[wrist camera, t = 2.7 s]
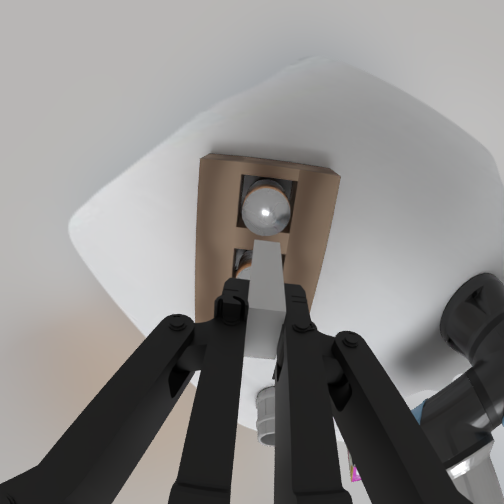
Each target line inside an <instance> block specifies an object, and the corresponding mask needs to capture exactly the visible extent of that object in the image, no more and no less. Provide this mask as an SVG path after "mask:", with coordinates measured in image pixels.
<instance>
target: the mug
mask: <svg viewBox="0 0 504 504" xmlns="http://www.w3.org/2000/svg"><path fill="white" fill-rule="evenodd" d="M256 408H257V409H258V419H257V422H256V427H257V430H258V441H259V442H260V443H261V444H263V445H265V446H270V447H275V387H270V388H267V389H264V390H262V391H261V392H260V393H259V394H258V398H257V400H256Z"/></svg>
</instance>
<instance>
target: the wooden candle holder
mask: <svg viewBox="0 0 504 504" xmlns="http://www.w3.org/2000/svg"><path fill="white" fill-rule="evenodd" d="M244 175H253V176H262V177H270V178H277V179H285V180H292V187H291V193H290V200H289V205H290V219H289V222H288V224H287V226H286V227H285V228H284V229H283V230H282V231H281V232H279V233H277V234H275V235H272V236H261V235H257V234H255V233H253V232H252V231H250V230H249V229H248V228H247V226H246V225H245V223H244V221H243V218H242V213H240V211H241V201H242V191H243V181H244ZM340 178H341V176H339V175H338V174H337V173H335V172H334V171H333V170H331V169H329V168H323V167H318V166H311V165H305V164H299V163H292V162H285V161H277V160H270V159H261V158H253V157H243V156H233V155H222V154H208V155H206V156H204V157H202V158H200V168H199V183H198V202H197V225H196V259H195V323H201V322H206V321H209V320H211V319H213V318H214V301H215V300H216V298H217V297H219V296H220V295H222V291H223V287H224V283H225V282H226V281H227V280H228V279H229V278H236V274H237V271H235V263H236V252H237V248H238V249H246V250H253V247H254V240H262V241H270V242H279V243H280V248H281V258H282V269H283V280H284V283H288V284H297V285H301V286H302V288H303V289H304V290H305V292H306V298H307V304H308V308H309V313H310V309H311V306H312V302H313V298H314V295H315V291H316V287H317V283H318V279H319V275H320V271H321V267H322V263H323V259H324V254H325V250H326V246H327V241H328V237H329V233H330V228H331V223H332V219H333V214H334V209H335V204H336V199H337V194H338V189H339V183H340Z"/></svg>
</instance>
